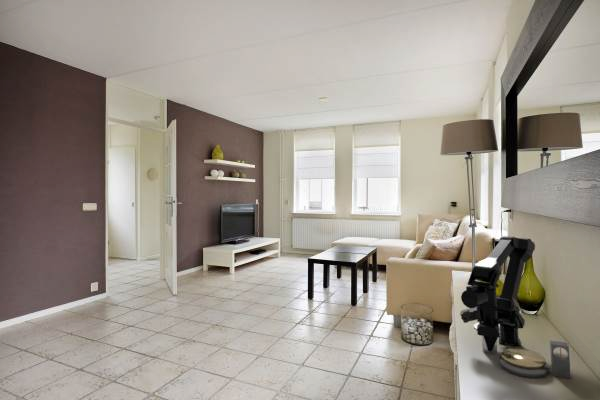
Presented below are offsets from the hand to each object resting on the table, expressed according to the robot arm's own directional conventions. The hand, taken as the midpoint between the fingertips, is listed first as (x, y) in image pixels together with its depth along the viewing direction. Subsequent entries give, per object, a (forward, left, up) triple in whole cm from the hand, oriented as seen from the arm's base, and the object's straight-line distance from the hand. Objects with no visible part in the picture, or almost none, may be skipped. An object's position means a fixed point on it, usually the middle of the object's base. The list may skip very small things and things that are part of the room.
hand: (489, 348), depth 117 cm
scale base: (+9, +11, -1) cm, 15 cm away
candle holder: (-23, 0, -2) cm, 23 cm away
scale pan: (+9, +9, +1) cm, 13 cm away
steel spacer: (0, 0, -1) cm, 1 cm away
